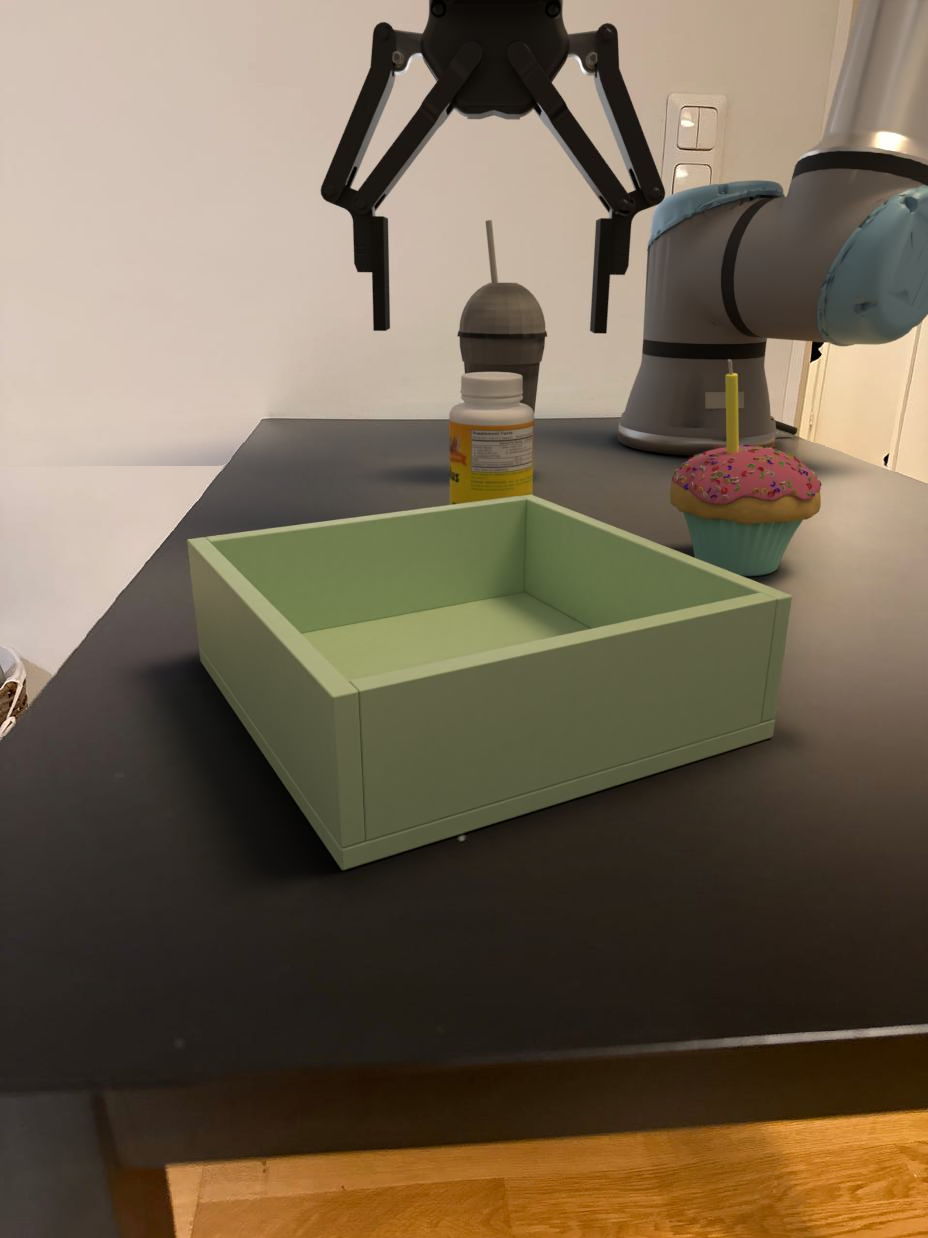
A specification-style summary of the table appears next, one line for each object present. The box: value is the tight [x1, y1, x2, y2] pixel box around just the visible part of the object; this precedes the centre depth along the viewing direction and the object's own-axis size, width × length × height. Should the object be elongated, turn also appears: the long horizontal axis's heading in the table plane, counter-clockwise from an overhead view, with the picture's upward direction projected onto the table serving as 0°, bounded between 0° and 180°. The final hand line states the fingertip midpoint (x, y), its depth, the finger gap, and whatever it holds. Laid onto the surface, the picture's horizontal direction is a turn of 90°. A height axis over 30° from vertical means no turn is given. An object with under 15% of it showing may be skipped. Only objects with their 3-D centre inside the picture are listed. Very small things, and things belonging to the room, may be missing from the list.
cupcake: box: [669, 360, 822, 577], centre depth 53 cm, size 9×8×12 cm
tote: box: [186, 494, 793, 871], centre depth 38 cm, size 18×18×6 cm
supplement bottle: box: [448, 372, 535, 505], centre depth 61 cm, size 6×6×10 cm
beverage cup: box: [456, 219, 548, 413], centre depth 75 cm, size 7×7×20 cm
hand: (489, 331), depth 58 cm, fingers open, 13 cm apart
